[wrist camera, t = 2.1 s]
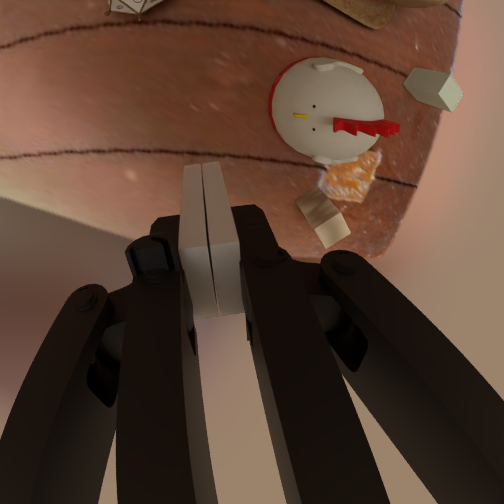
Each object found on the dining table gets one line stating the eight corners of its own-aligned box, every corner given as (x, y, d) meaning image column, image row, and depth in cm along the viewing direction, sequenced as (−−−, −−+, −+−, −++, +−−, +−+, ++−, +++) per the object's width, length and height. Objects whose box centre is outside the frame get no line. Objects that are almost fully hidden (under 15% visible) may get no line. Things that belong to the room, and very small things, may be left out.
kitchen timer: (267, 55, 30) (312, 49, 18) (364, 62, 31) (439, 73, 19) (270, 156, 38) (309, 206, 26) (359, 152, 40) (422, 196, 28)
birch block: (317, 186, 42) (340, 212, 35) (327, 205, 44) (350, 233, 38) (294, 201, 43) (314, 228, 36) (306, 219, 45) (326, 249, 39)
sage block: (414, 67, 32) (450, 74, 26) (428, 83, 34) (463, 93, 27) (402, 84, 34) (438, 93, 27) (417, 100, 35) (451, 112, 29)
